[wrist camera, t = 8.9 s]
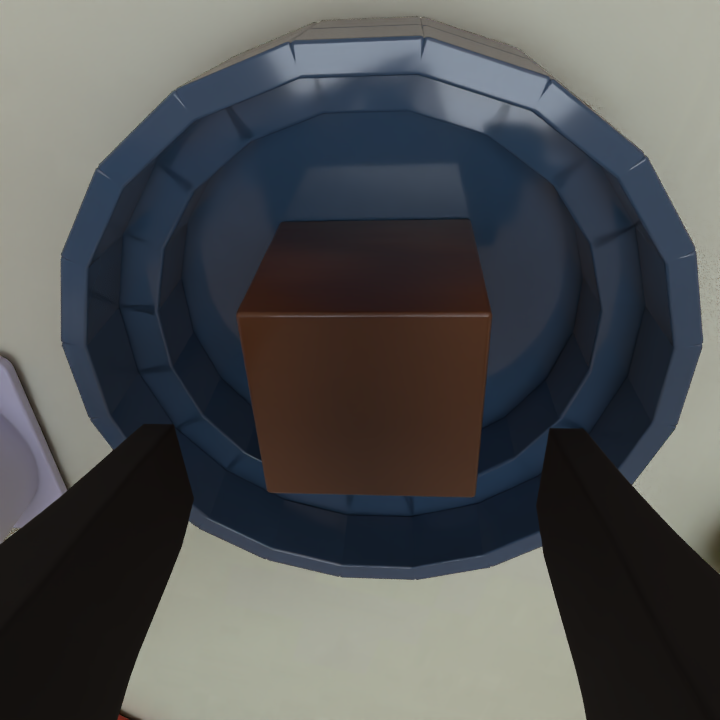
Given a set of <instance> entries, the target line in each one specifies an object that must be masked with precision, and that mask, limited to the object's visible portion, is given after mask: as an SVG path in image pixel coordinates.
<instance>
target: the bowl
mask: <svg viewBox="0 0 720 720" xmlns="http://www.w3.org/2000/svg"><path fill="white" fill-rule="evenodd" d="M454 219H468V220H470V221H471V224H472V228H473V233H474V237H475V241H476V246H477V250H478V255H479V259H480V263H481V268H482V272H483V277H484V281H485V285H486V290H487V294H488V299H489V303H490V307H491V312H492V324H491V335H490V345H489V356H488V367H487V378H486V389H485V399H484V410H483V421H482V432H481V443H480V453H479V464H478V475H477V486H476V494H475V496H474V497H472V498H470V497H426V496H382V495H338V494H294V493H269V492H268V491H267V488H266V482H265V477H264V471H263V465H262V460H261V454H260V449H259V443H258V437H257V432H256V426H255V420H254V415H253V409H252V403H251V398H250V392H249V386H248V381H247V375H246V369H245V364H244V358H243V352H242V347H241V341H240V335H239V330H238V324H237V319H236V314H237V311H238V309H239V307H240V305H241V303H242V301H243V299H244V297H245V295H246V293H247V290H248V288H249V286H250V284H251V282H252V280H253V278H254V276H255V274H256V272H257V270H258V268H259V266H260V264H261V262H262V260H263V258H264V256H265V253H266V251H267V249H268V247H269V245H270V243H271V241H272V239H273V237H274V235H275V233H276V231H277V229H278V227H279V225H280V223H281V222H309V221H382V220H454ZM61 256H62V257H61V341H62V347H63V349H64V352H65V355H66V357H67V360H68V363H69V365H70V368H71V371H72V374H73V376H74V379H75V382H76V384H77V387H78V390H79V392H80V395H81V398H82V400H83V403H84V406H85V409H86V411H87V414H88V417H89V418H90V420H91V422H92V423H93V424H94V426H95V427H96V428H97V429H98V431H99V432H100V433H101V435H102V436H103V437H104V439H105V440H106V441H107V442H108V444H109V445H110V446H111V448H112V449H113V450H114V449H115V448H116V447H118V446H119V445H120V444H121V443H122V442H123V441H124V440H125V439H127V438H128V437H129V436H130V435H131V434H132V433H133V432H135V431H136V430H137V429H138V428H139V427H141V426H142V425H143V424H174V427H175V430H176V434H177V438H178V441H179V445H180V449H181V452H182V456H183V460H184V463H185V467H186V471H187V474H188V478H189V482H190V485H191V489H192V493H193V496H194V501H193V505H192V509H191V513H190V517H189V521H190V522H191V523H192V524H193V525H195V526H196V527H198V528H199V529H201V530H203V531H205V532H207V533H209V534H212V535H214V536H216V537H218V538H220V539H222V540H224V541H227V542H229V543H231V544H233V545H235V546H237V547H239V548H242V549H244V550H246V551H248V552H250V553H252V554H254V555H257V556H259V557H261V558H263V559H267V560H269V561H273V562H278V563H282V564H286V565H290V566H295V567H299V568H303V569H307V570H312V571H316V572H320V573H324V574H329V575H333V576H337V577H339V576H340V577H345V578H375V579H405V580H415V579H416V580H419V579H425V578H431V577H437V576H443V575H448V574H454V573H460V572H466V571H472V570H478V569H484V568H490V567H491V566H495V565H498V564H500V563H502V562H505V561H507V560H510V559H512V558H515V557H517V556H520V555H522V554H525V553H527V552H530V551H532V550H535V549H537V548H540V547H542V541H541V535H540V528H539V521H538V514H537V508H536V503H537V498H538V492H539V486H540V480H541V474H542V468H543V463H544V457H545V451H546V445H547V439H548V434H549V428H583V429H584V430H585V431H586V432H587V433H588V434H589V435H590V437H591V438H592V439H593V440H594V441H595V443H596V444H597V445H598V446H599V447H600V449H601V450H602V451H603V452H604V453H605V455H606V456H607V457H608V458H609V459H610V461H611V462H612V463H613V464H614V465H615V466H616V468H617V469H618V470H619V471H620V472H621V473H622V475H623V476H624V477H625V478H626V479H627V480H628V481H629V483H630V484H631V485H632V484H633V483H634V482H635V480H636V479H637V478H638V477H639V475H640V474H641V473H642V471H643V470H644V469H645V467H646V466H647V465H648V463H649V462H650V461H651V460H652V458H653V457H654V456H655V454H656V453H657V452H658V450H659V449H660V448H661V447H662V445H663V444H664V443H665V441H666V440H667V439H668V437H669V436H670V435H671V433H672V432H673V431H674V430H675V428H676V425H677V424H678V421H679V418H680V414H681V411H682V408H683V405H684V402H685V399H686V396H687V393H688V390H689V387H690V384H691V381H692V377H693V374H694V371H695V368H696V365H697V362H698V359H699V356H700V353H701V350H702V343H703V332H702V319H701V306H700V293H699V280H698V267H697V253H696V251H695V246H694V244H693V242H692V240H691V238H690V236H689V234H688V232H687V230H686V229H685V227H684V225H683V223H682V221H681V219H680V217H679V215H678V213H677V211H676V210H675V208H674V206H673V204H672V202H671V200H670V198H669V196H668V194H667V193H666V191H665V189H664V187H663V185H662V183H661V181H660V179H659V177H658V175H657V174H656V172H655V170H654V168H653V166H652V164H651V162H650V160H649V158H648V157H647V156H646V155H645V154H644V153H643V151H642V150H640V149H639V148H638V147H637V146H636V145H634V144H633V143H632V142H631V141H630V140H629V139H627V138H626V137H625V136H624V135H623V134H621V133H620V132H619V131H618V130H617V129H615V128H614V127H613V126H612V125H611V124H610V123H608V122H607V121H606V120H605V119H604V118H602V117H601V116H600V115H599V114H598V113H597V112H595V111H594V110H593V109H592V108H591V107H589V106H588V105H587V104H586V103H585V102H583V101H582V100H581V99H580V98H578V97H577V96H576V95H575V94H574V93H572V92H571V91H570V90H569V89H567V88H566V87H565V86H564V85H563V84H561V83H560V82H559V81H558V80H557V79H555V78H554V77H553V76H552V75H550V74H549V73H548V72H547V71H546V70H544V69H543V68H542V67H541V66H540V65H538V64H537V63H536V62H535V61H533V60H532V59H531V58H530V57H529V56H527V55H526V54H525V53H524V52H523V51H521V50H520V49H517V48H516V47H514V46H511V45H508V44H504V43H501V42H498V41H495V40H492V39H489V38H486V37H483V36H480V35H477V34H474V33H471V32H468V31H465V30H462V29H459V28H456V27H453V26H450V25H447V24H444V23H441V22H438V21H435V20H432V19H429V18H426V17H422V18H420V17H418V16H411V17H387V18H362V19H338V20H321V21H320V22H313V23H311V24H308V25H306V26H304V27H301V28H299V29H297V30H294V31H292V32H290V33H287V34H285V35H283V36H280V37H278V38H275V39H273V40H271V41H268V42H266V43H264V44H261V45H259V46H257V47H254V48H252V49H250V50H247V51H245V52H243V53H240V54H238V55H236V56H233V57H231V58H229V59H228V60H226V61H224V62H222V63H221V64H219V65H217V66H215V67H213V68H212V69H210V70H208V71H206V72H204V73H202V74H201V75H199V76H197V77H195V78H194V79H192V80H190V81H188V82H187V83H185V84H183V85H181V86H180V87H178V88H177V89H176V90H174V91H172V92H171V93H170V94H169V95H168V96H167V97H166V98H165V99H164V100H163V101H162V102H161V103H160V104H159V105H158V106H157V107H156V108H155V109H154V110H153V111H152V112H151V113H150V114H149V115H148V116H147V117H146V118H145V119H144V120H143V121H142V122H141V123H140V124H139V125H138V126H137V127H136V128H135V129H134V130H133V131H132V132H131V133H130V134H129V135H128V136H127V137H126V138H125V139H124V140H123V141H122V142H121V143H120V144H119V145H118V146H117V147H116V148H115V149H114V150H113V151H112V152H111V153H110V154H109V155H108V156H107V157H106V158H105V159H104V160H103V161H102V162H101V163H100V164H99V166H98V168H96V169H95V172H94V174H93V177H92V179H91V182H90V184H89V187H88V189H87V192H86V194H85V196H84V199H83V201H82V204H81V206H80V209H79V211H78V214H77V216H76V219H75V221H74V224H73V226H72V228H71V231H70V233H69V236H68V238H67V241H66V243H65V246H64V248H63V251H62V253H61Z"/></svg>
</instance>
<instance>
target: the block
mask: <svg viewBox="0 0 720 720" xmlns="http://www.w3.org/2000/svg"><path fill="white" fill-rule="evenodd" d="M236 319H237V324H238V330H239V335H240V341H241V347H242V352H243V358H244V364H245V369H246V375H247V381H248V386H249V392H250V398H251V403H252V409H253V415H254V420H255V426H256V432H257V437H258V443H259V449H260V454H261V460H262V465H263V471H264V477H265V482H266V488H267V491H268V492H269V493H294V494H338V495H382V496H426V497H470V498H472V497H474V496H475V494H476V486H477V475H478V464H479V453H480V443H481V432H482V421H483V410H484V399H485V389H486V378H487V367H488V356H489V345H490V335H491V324H492V312H491V307H490V303H489V299H488V294H487V290H486V285H485V281H484V277H483V272H482V268H481V263H480V259H479V255H478V250H477V246H476V241H475V237H474V233H473V228H472V224H471V221H470V220H468V219H454V220H382V221H309V222H281V223H280V225H279V227H278V229H277V231H276V233H275V235H274V237H273V239H272V241H271V243H270V245H269V247H268V249H267V251H266V253H265V256H264V258H263V260H262V262H261V264H260V266H259V268H258V270H257V272H256V274H255V276H254V278H253V280H252V282H251V284H250V286H249V288H248V290H247V293H246V295H245V297H244V299H243V301H242V303H241V305H240V307H239V309H238V311H237V314H236Z"/></svg>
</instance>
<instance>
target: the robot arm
mask: <svg viewBox="0 0 720 720" xmlns="http://www.w3.org/2000/svg"><path fill="white" fill-rule="evenodd" d="M193 501H194V496H193V493H192V489H191V485H190V482H189V478H188V474H187V471H186V467H185V463H184V460H183V456H182V452H181V449H180V445H179V441H178V438H177V434H176V430H175V427H174V424H143V425H142V426H141V427H139V428H138V429H137V430H136V431H135V432H133V433H132V434H131V435H130V436H129V437H128V438H127V439H125V440H124V441H123V442H122V443H121V444H120V445H119V446H118V447H116V448H115V449H114V450H113V451H112V452H111V453H110V454H109V455H107V456H106V457H105V458H104V459H103V460H102V461H101V462H100V463H98V464H97V465H96V466H95V467H94V468H93V469H92V470H91V471H89V472H88V473H87V474H86V475H85V476H84V477H82V478H81V479H80V480H79V481H78V482H77V483H76V484H74V485H73V486H72V487H71V488H70V489H69V490H68V491H67V489H66V486H65V484H64V482H63V479H62V477H61V475H60V472H59V470H58V468H57V465H56V463H55V461H54V459H53V456H52V454H51V452H50V449H49V447H48V445H47V442H46V440H45V438H44V436H43V433H42V431H41V429H40V426H39V424H38V422H37V419H36V417H35V415H34V412H33V410H32V408H31V406H30V403H29V401H28V399H27V396H26V394H25V392H24V389H23V387H22V385H21V383H20V380H19V378H18V376H17V373H16V371H15V369H14V367H13V365H12V364H11V362H10V361H8V360H7V359H6V358H4V357H2V356H0V720H117V719H118V716H119V713H120V709H121V706H122V703H123V699H124V696H125V692H126V689H127V686H128V682H129V679H130V676H131V673H132V670H133V668H134V665H135V662H136V659H137V657H138V654H139V651H140V649H141V646H142V644H143V641H144V639H145V636H146V634H147V632H148V629H149V627H150V624H151V622H152V619H153V617H154V614H155V612H156V609H157V607H158V604H159V602H160V600H161V597H162V595H163V592H164V590H165V587H166V585H167V582H168V580H169V577H170V575H171V572H172V570H173V567H174V565H175V562H176V560H177V557H178V555H179V552H180V549H181V547H182V543H183V540H184V536H185V532H186V529H187V525H188V521H189V517H190V513H191V509H192V505H193ZM536 508H537V514H538V521H539V528H540V535H541V541H542V547H543V553H544V558H545V562H546V565H547V569H548V573H549V576H550V580H551V583H552V587H553V591H554V594H555V598H556V601H557V605H558V608H559V612H560V615H561V619H562V623H563V626H564V630H565V633H566V637H567V640H568V644H569V647H570V651H571V654H572V658H573V661H574V665H575V669H576V672H577V676H578V681H579V685H580V689H581V693H582V697H583V703H584V708H585V714H586V719H587V720H720V574H719V573H717V572H716V571H715V570H714V569H713V568H712V567H711V566H710V565H709V564H708V563H707V562H705V561H704V560H703V559H702V558H701V557H700V556H699V555H698V554H697V553H696V552H695V551H694V550H693V549H692V548H691V547H690V546H689V545H688V544H687V543H686V542H685V541H684V540H683V539H682V538H681V537H680V536H679V535H678V534H677V533H676V532H675V531H674V530H673V529H672V528H671V527H670V526H669V525H668V524H667V523H666V522H665V521H664V520H663V519H662V518H661V517H660V515H659V514H658V513H657V512H656V511H655V510H654V509H653V508H652V507H651V506H650V505H649V504H648V503H647V501H646V500H645V499H644V498H643V497H642V496H641V495H640V494H639V493H638V492H637V491H636V489H635V488H634V487H633V486H632V485H631V484H630V483H629V481H628V480H627V479H626V478H625V477H624V476H623V475H622V473H621V472H620V471H619V470H618V469H617V468H616V466H615V465H614V464H613V463H612V462H611V461H610V459H609V458H608V457H607V456H606V455H605V453H604V452H603V451H602V450H601V449H600V447H599V446H598V445H597V444H596V443H595V441H594V440H593V439H592V438H591V437H590V435H589V434H588V433H587V432H586V431H585V430H584V429H583V428H549V434H548V439H547V445H546V451H545V457H544V463H543V468H542V474H541V480H540V486H539V492H538V498H537V503H536ZM12 528H21V529H19V530H18V531H17V532H16V533H14V534H13V535H12V536H11V537H9V538H8V539H7V540H5V538H6V537H7V535H8V534H9V533H10V531H11V530H12ZM4 540H5V541H4ZM3 541H4V542H3Z"/></svg>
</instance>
